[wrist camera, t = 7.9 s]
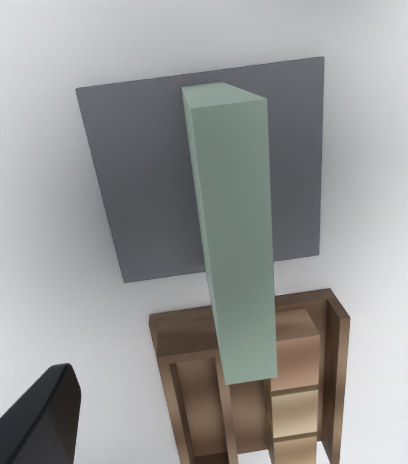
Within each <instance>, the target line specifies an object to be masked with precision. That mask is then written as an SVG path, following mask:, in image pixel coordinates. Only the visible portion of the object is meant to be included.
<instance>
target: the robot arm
mask: <svg viewBox="0 0 408 464" xmlns="http://www.w3.org/2000/svg"><path fill="white" fill-rule="evenodd" d="M80 404H81V389H80V386H79V383H78V380H77V378H76V375H75V372H74V370H73V367H72V365H71V364H69V363H64V364H58V365H53V366H51V367H50V368H48V369H47V370H46V371H45V372H44V374H43V375H42V376H41V377H40V378H39V379H38V380H37V381H36V382H35V383H34V384H33V385H32V386H31V387H30V388H29V389H28V390H27V391H26V392H25V393H24V394H23V395H22V396H21V397H20V398H19V399H18V400H17V401H16V402H15V403H14V404H13V405H12V406H11V407H10V408H9V409H8V410H7V411H6V412H5V414H4V415H3V416H2V417H1V418H0V464H73V461H74V454H75V446H76V437H77V429H78V420H79V412H80Z"/></svg>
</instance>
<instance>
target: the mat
mask: <svg viewBox="0 0 408 464" xmlns="http://www.w3.org/2000/svg"><path fill="white" fill-rule="evenodd" d="M217 82H224V83H227V84H229V85H232V86H235V87H237V88H240V89H243V90H245V91H248V92H251V93H253V94H256V95H259V96H261V97H264V98H267V110H268V137H269V164H270V190H271V217H272V244H273V262H274V261H281V260H288V259H295V258H302V257H309V256H316V255H319V238H320V200H321V162H322V125H323V87H324V57H316V58H309V59H301V60H293V61H285V62H278V63H270V64H262V65H254V66H246V67H239V68H231V69H223V70H215V71H208V72H200V73H192V74H184V75H177V76H169V77H161V78H153V79H146V80H138V81H130V82H122V83H114V84H107V85H99V86H91V87H83V88H77V89H75V90H76V94H77V98H78V102H79V106H80V110H81V114H82V118H83V122H84V126H85V130H86V134H87V138H88V142H89V146H90V150H91V154H92V158H93V162H94V166H95V170H96V174H97V178H98V182H99V186H100V190H101V194H102V198H103V202H104V206H105V210H106V213H107V217H108V221H109V225H110V229H111V233H112V237H113V241H114V245H115V249H116V253H117V257H118V261H119V265H120V269H121V273H122V277H123V281H124V283H128V282H135V281H142V280H149V279H156V278H163V277H170V276H177V275H184V274H191V273H198V272H205V271H206V269H205V262H204V255H203V247H202V240H201V232H200V225H199V217H198V210H197V202H196V195H195V187H194V180H193V172H192V165H191V157H190V150H189V142H188V135H187V127H186V120H185V112H184V105H183V97H182V90H181V87H186V86H194V85H201V84H209V83H217Z"/></svg>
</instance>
